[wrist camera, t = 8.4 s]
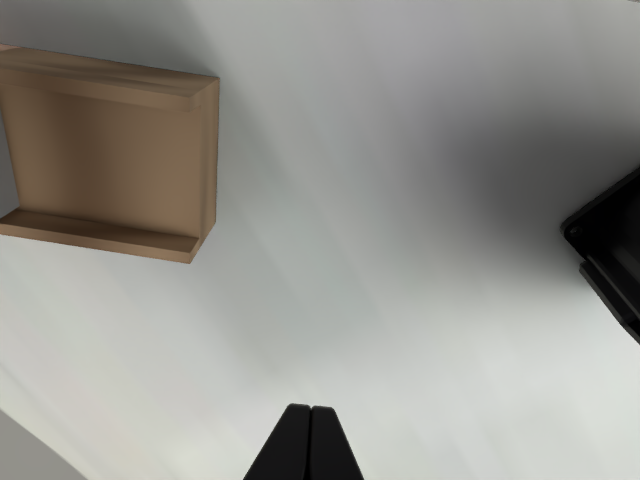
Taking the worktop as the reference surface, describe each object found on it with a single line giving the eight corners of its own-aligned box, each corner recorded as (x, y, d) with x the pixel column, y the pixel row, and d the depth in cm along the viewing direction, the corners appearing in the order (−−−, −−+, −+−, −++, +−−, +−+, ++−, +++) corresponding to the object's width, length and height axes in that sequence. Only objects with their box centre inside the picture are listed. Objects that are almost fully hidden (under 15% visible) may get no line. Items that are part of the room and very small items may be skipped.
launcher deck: (219, 78, 18) (189, 97, 15) (215, 222, 22) (190, 263, 18) (21, 47, 19) (-51, 60, 15) (45, 195, 22) (-10, 232, 18)
